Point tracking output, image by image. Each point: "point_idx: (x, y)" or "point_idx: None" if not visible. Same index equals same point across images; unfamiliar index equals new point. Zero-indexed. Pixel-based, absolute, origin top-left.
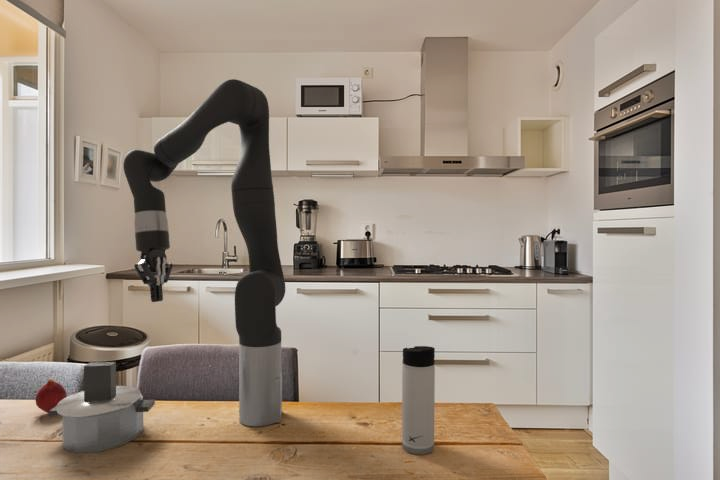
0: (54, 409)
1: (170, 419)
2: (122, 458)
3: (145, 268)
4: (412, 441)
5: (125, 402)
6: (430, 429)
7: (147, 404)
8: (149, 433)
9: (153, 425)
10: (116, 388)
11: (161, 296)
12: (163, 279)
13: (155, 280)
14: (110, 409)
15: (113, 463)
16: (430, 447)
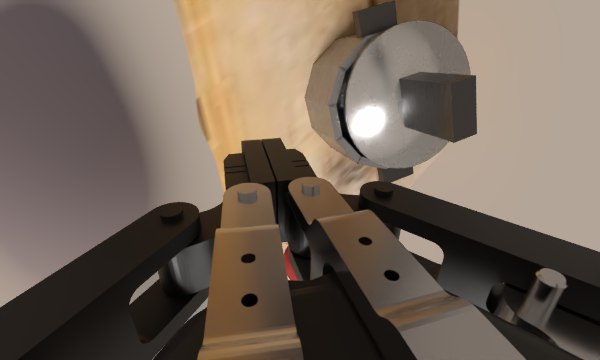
0: (408, 170)
1: (287, 9)
2: (424, 9)
3: (582, 246)
4: None
5: (430, 32)
6: None
7: (383, 10)
8: (347, 17)
9: (317, 30)
10: (362, 109)
11: (259, 146)
12: (226, 214)
13: (361, 195)
14: (457, 39)
15: (436, 13)
16: None
